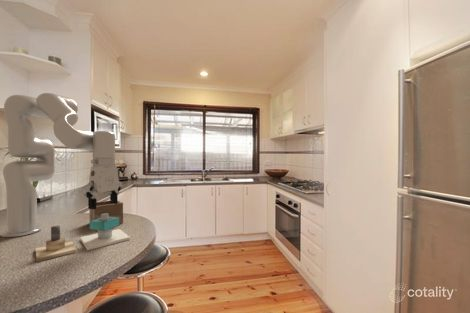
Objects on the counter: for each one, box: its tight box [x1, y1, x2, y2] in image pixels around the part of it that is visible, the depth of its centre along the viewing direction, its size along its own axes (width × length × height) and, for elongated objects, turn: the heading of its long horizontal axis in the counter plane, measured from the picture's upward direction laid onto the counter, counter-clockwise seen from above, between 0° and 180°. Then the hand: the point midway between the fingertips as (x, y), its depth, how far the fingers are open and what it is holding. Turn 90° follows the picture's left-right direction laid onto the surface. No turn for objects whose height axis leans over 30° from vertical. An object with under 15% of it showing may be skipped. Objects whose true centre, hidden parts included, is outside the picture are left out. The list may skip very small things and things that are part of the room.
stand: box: [35, 225, 77, 263], centre depth 75 cm, size 12×10×8 cm
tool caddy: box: [89, 200, 124, 225], centre depth 108 cm, size 12×12×10 cm
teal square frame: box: [89, 217, 120, 231], centre depth 85 cm, size 7×7×3 cm
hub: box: [80, 213, 131, 251], centre depth 85 cm, size 14×14×10 cm
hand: (103, 206), depth 85 cm, fingers open, 9 cm apart
